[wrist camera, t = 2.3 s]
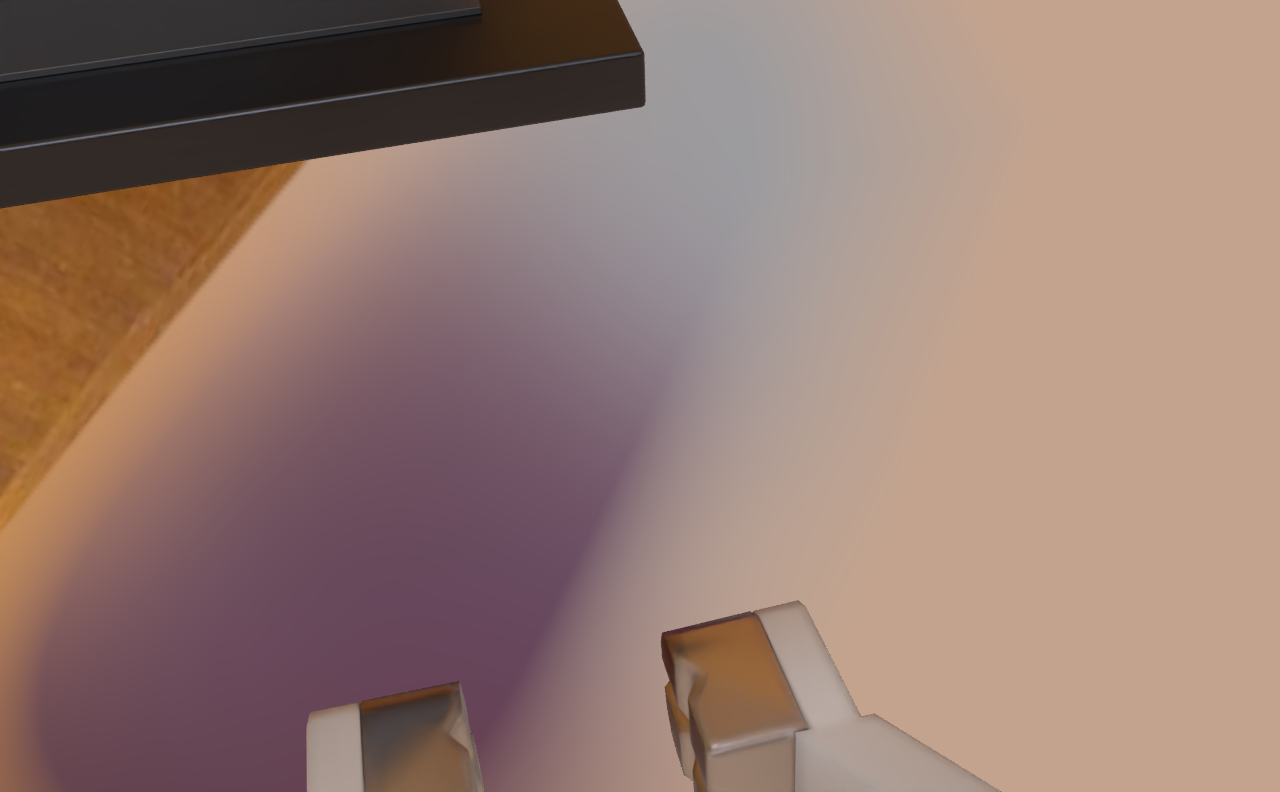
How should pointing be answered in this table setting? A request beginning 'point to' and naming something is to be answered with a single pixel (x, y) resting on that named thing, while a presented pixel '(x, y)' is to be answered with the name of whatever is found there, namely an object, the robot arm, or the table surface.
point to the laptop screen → (285, 81)
